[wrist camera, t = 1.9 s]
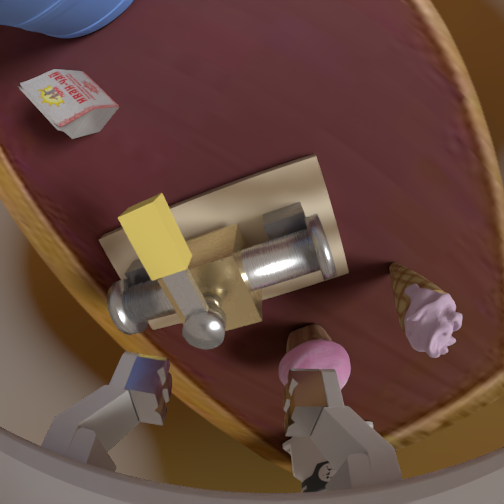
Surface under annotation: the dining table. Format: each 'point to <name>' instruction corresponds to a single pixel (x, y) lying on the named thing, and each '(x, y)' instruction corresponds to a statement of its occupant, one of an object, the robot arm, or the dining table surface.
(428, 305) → the ice cream cone
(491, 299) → the dining table surface
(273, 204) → the valve assembly
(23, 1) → the water jug
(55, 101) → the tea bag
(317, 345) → the cupcake
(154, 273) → the lever
